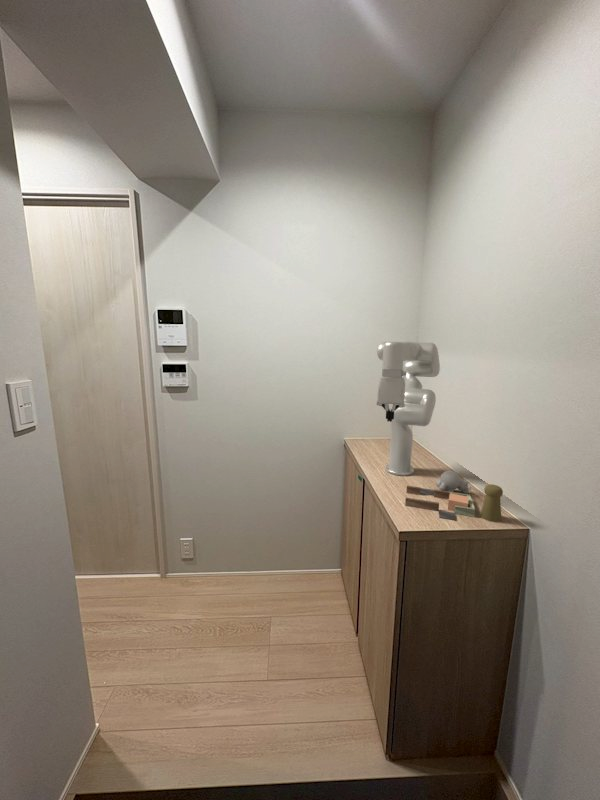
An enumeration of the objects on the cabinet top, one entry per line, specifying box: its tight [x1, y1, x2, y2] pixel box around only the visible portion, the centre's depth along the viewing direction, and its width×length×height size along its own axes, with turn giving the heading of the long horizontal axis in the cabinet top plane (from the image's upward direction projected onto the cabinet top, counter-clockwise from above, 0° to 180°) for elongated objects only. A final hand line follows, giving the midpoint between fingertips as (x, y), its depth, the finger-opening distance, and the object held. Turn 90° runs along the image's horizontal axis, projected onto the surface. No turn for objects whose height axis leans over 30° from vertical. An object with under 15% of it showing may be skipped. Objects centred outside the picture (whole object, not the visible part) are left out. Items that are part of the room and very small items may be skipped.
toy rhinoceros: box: [435, 470, 472, 494], centre depth 126 cm, size 7×12×8 cm, turn 81°
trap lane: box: [404, 485, 476, 522], centre depth 117 cm, size 22×22×2 cm
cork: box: [479, 483, 504, 523], centre depth 107 cm, size 6×6×11 cm
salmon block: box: [447, 493, 469, 512], centre depth 113 cm, size 6×6×4 cm
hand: (389, 420), depth 127 cm, fingers closed
